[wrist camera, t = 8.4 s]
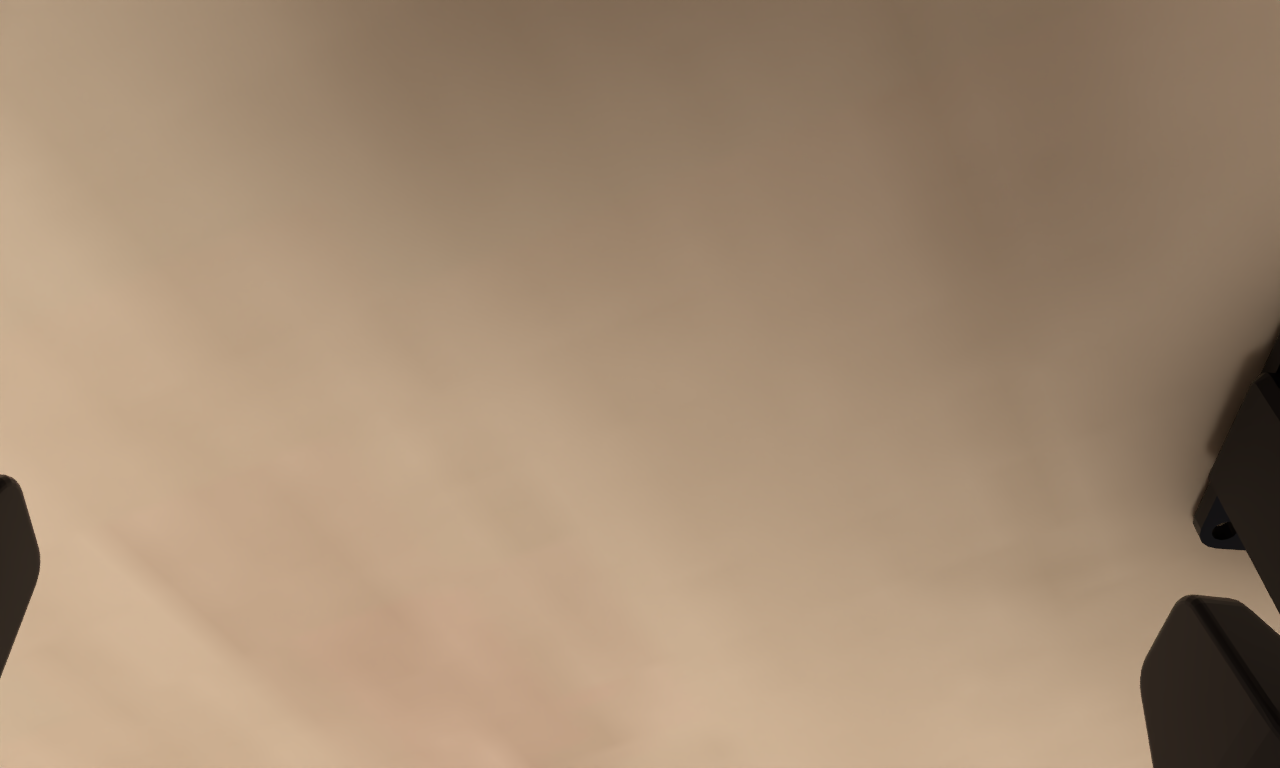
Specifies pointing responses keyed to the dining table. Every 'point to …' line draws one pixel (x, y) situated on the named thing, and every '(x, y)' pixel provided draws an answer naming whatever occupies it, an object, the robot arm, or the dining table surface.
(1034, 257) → the dining table surface
